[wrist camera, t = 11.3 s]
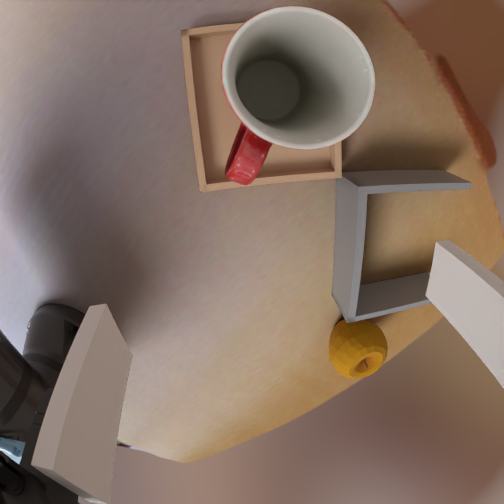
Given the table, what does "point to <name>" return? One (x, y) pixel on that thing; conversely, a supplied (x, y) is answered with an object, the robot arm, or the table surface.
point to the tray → (235, 121)
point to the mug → (293, 85)
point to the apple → (357, 348)
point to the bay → (353, 235)
